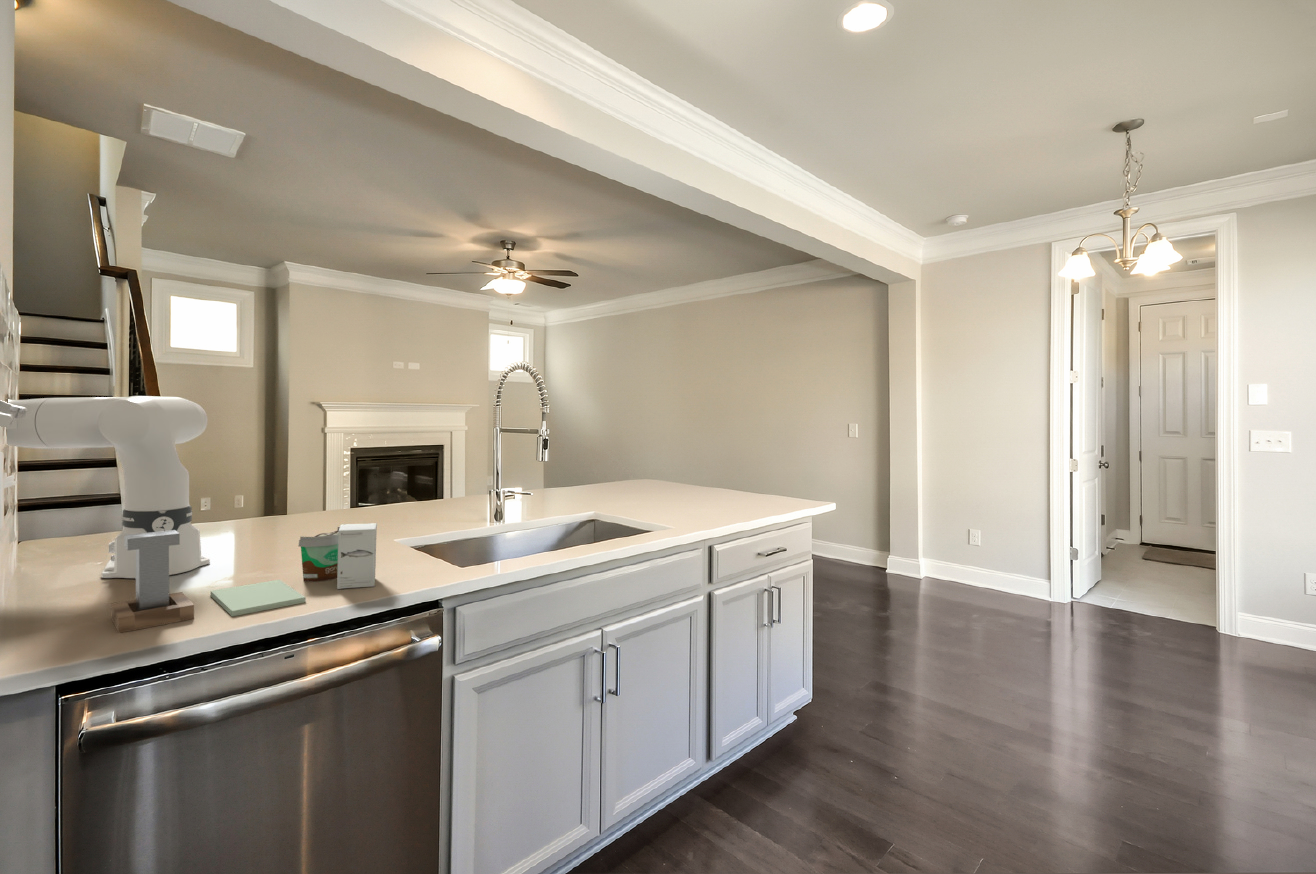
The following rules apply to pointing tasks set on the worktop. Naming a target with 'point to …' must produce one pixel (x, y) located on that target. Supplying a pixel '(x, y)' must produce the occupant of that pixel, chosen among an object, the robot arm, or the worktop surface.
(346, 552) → the supplement box
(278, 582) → the green mat
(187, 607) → the socket block
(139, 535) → the t-key
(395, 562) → the worktop surface
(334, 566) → the food container
